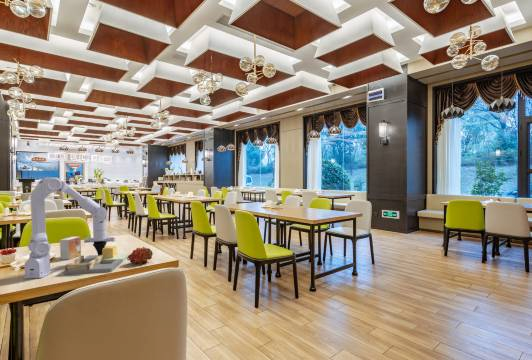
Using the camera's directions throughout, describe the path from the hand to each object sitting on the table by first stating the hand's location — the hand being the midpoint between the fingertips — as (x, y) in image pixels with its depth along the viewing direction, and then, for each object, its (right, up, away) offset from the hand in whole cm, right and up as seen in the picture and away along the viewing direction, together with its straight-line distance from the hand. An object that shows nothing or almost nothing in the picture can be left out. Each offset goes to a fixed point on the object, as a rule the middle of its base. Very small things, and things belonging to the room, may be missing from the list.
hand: (100, 255), depth 152 cm
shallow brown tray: (-1, -1, -12) cm, 12 cm away
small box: (-20, -3, +7) cm, 21 cm away
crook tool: (+16, -2, +6) cm, 17 cm away
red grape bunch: (+23, -3, -5) cm, 23 cm away
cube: (+4, -1, +1) cm, 4 cm away
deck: (+3, -3, -7) cm, 8 cm away
